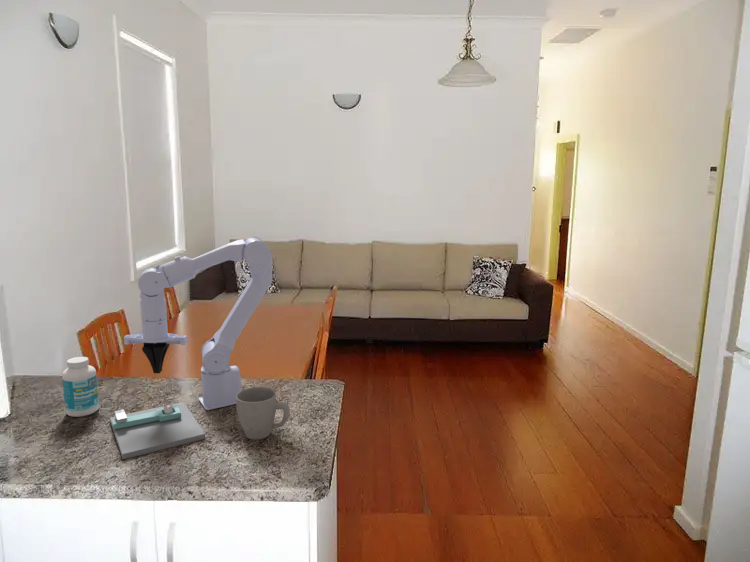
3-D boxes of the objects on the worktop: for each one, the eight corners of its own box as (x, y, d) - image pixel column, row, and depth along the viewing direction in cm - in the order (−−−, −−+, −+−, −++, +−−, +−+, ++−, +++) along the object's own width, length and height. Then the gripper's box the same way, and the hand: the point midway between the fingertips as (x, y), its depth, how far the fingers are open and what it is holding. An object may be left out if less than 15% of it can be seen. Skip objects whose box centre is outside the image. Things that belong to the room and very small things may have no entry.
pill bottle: (76, 420, 133) (70, 367, 130) (59, 413, 136) (53, 361, 134) (106, 409, 139) (100, 358, 136) (88, 402, 143) (83, 352, 140)
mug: (231, 441, 123) (229, 401, 121) (246, 423, 131) (244, 385, 129) (284, 446, 121) (282, 404, 119) (295, 427, 129) (294, 388, 127)
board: (184, 406, 141) (183, 401, 140) (205, 438, 124) (205, 433, 124) (110, 422, 132) (109, 417, 132) (122, 459, 115) (122, 454, 115)
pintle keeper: (170, 414, 136) (169, 399, 135) (175, 422, 131) (173, 407, 131) (115, 426, 130) (114, 411, 129) (119, 435, 125) (117, 419, 124)
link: (177, 409, 135) (177, 405, 135) (181, 417, 131) (181, 412, 131) (112, 422, 128) (112, 417, 128) (114, 431, 124) (113, 426, 124)
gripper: (189, 314, 138) (192, 366, 141) (130, 314, 138) (134, 366, 140) (180, 322, 131) (183, 376, 134) (118, 321, 131) (122, 376, 133)
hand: (157, 371), depth 137 cm, fingers closed
